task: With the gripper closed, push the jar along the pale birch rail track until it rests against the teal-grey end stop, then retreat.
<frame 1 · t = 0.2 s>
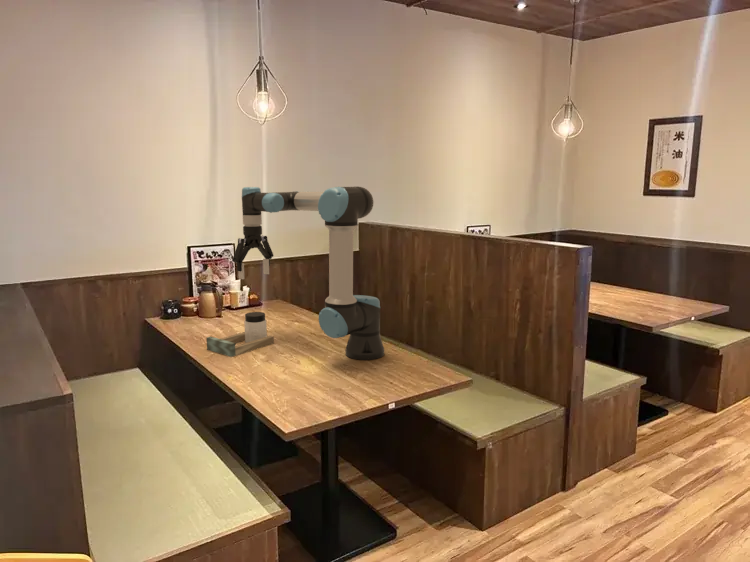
hand: (254, 276, 240), 27 cm above the table, fingers open, 13 cm apart
jar: (256, 342, 241), on the table
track: (243, 345, 235), on the table
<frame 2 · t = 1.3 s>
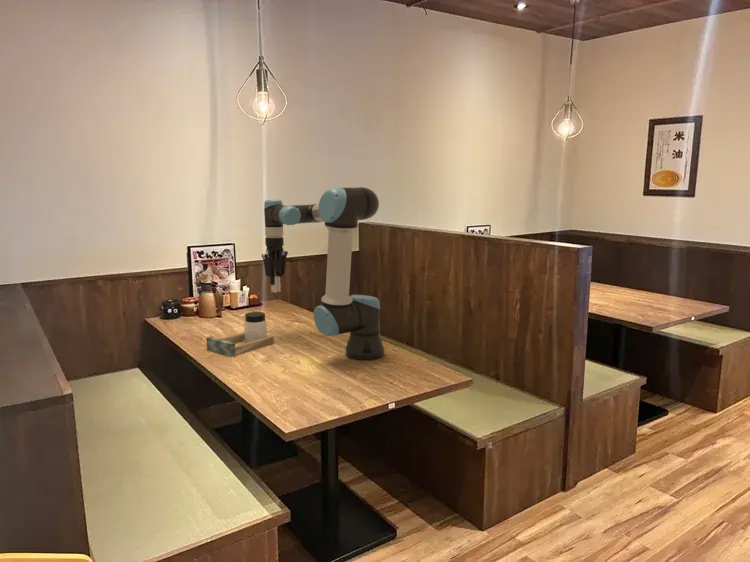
hand: (276, 291, 247), 19 cm above the table, fingers closed
nothing on the table moved.
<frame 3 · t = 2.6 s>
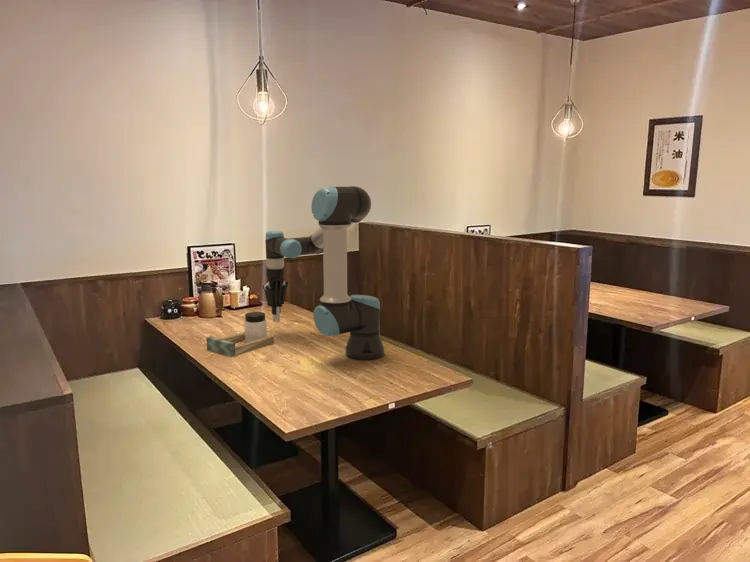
hand: (276, 321, 249), 6 cm above the table, fingers closed
nothing on the table moved.
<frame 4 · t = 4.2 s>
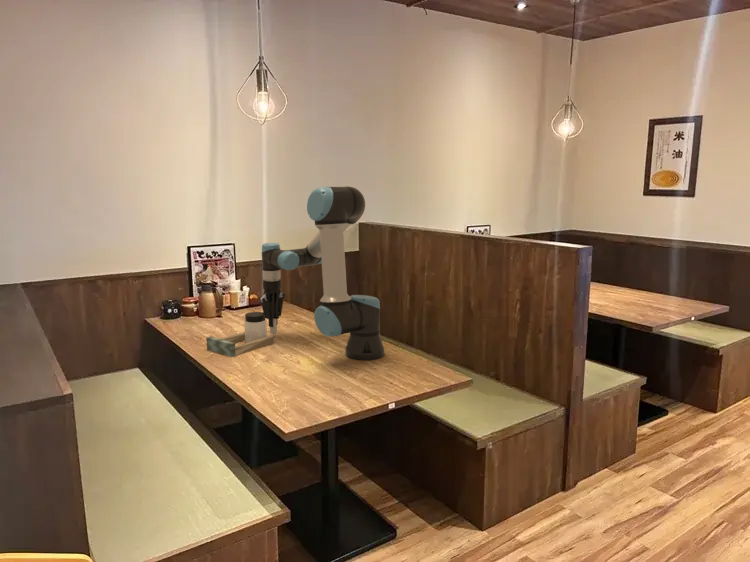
hand: (273, 333, 248), 1 cm above the table, fingers closed
nothing on the table moved.
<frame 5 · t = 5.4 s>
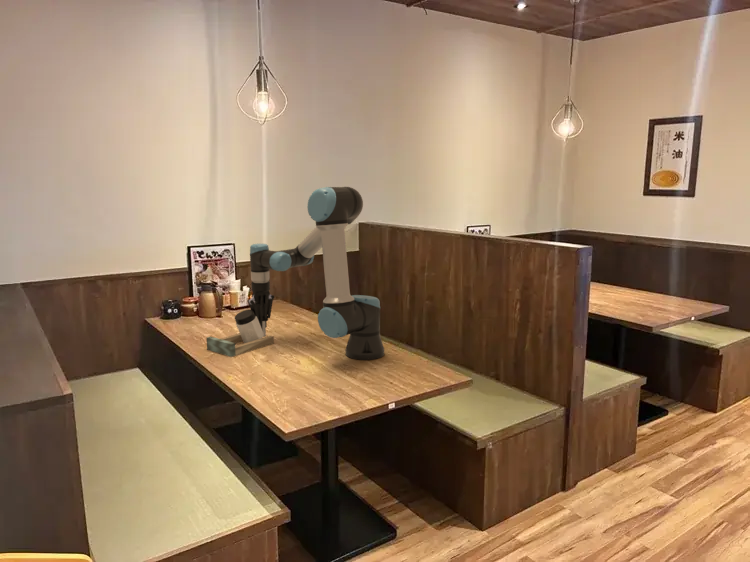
hand: (262, 335, 244), 2 cm above the table, fingers closed
jar: (254, 339, 240), point 1 cm above the table, touching gripper, hand
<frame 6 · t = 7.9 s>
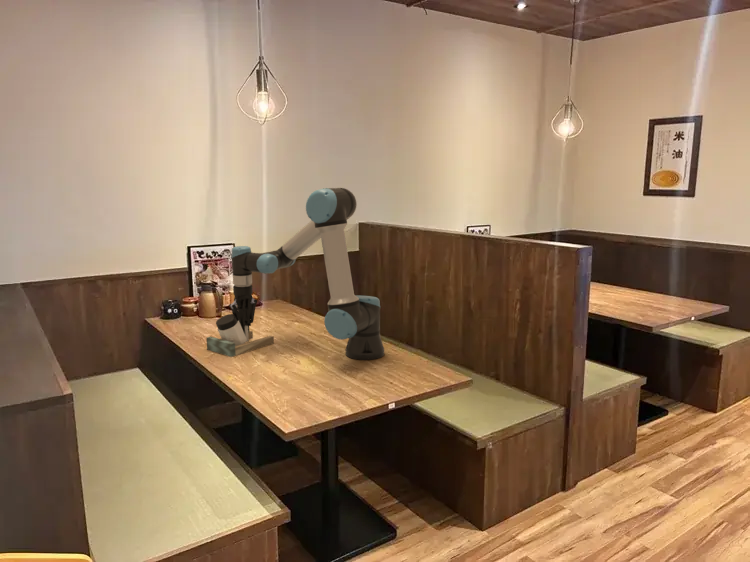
hand: (245, 341, 236), 2 cm above the table, fingers closed
jar: (236, 344, 233), point 1 cm above the table, touching gripper, hand
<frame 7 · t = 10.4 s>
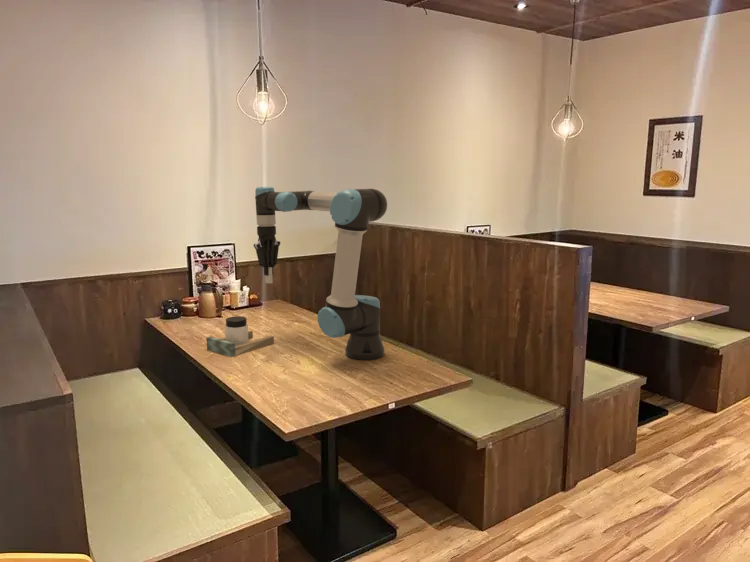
hand: (269, 282, 237), 25 cm above the table, fingers closed
jar: (237, 348, 233), on the table
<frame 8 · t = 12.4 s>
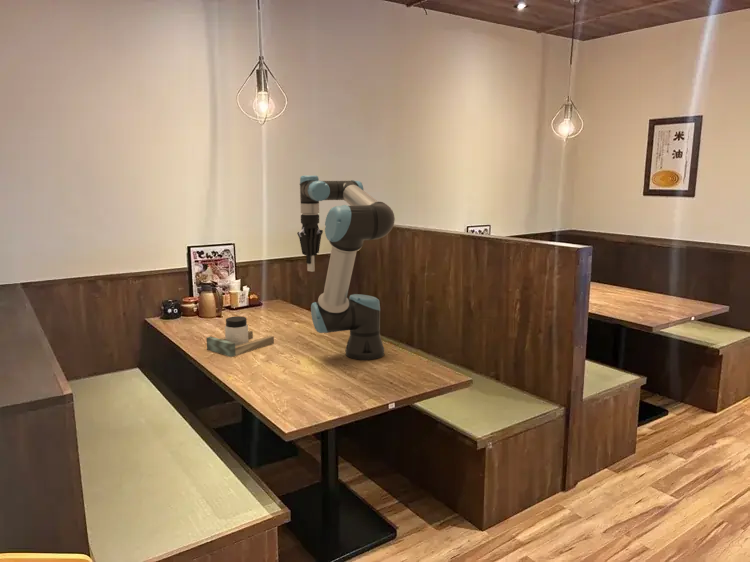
hand: (311, 271, 239), 29 cm above the table, fingers closed
nothing on the table moved.
at the end: jar inside the target area (2.6 cm from its centre), on the table; jar tilted 0°; jar touching table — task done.
